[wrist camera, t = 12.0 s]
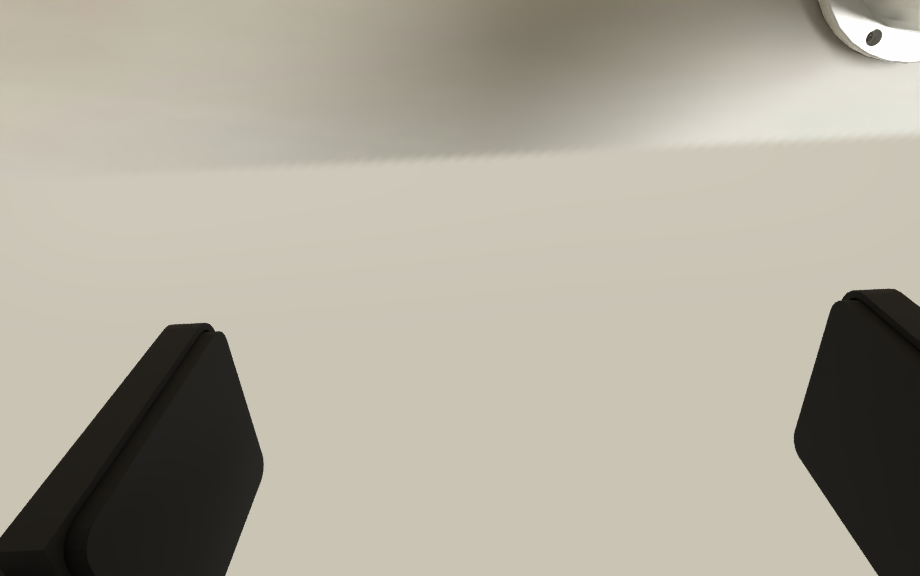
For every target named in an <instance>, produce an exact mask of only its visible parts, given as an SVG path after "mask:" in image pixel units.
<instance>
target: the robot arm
mask: <svg viewBox="0 0 920 576" xmlns="http://www.w3.org/2000/svg"><path fill="white" fill-rule="evenodd" d="M818 2H819V5H820V7H821V10H822V13H823V16H824V18H825V20H826V21H827V23H828V25H829V26H830V28H831V29H832V31H833V32H834V34H835V35H836V36H837V37H838V38H839V39H841V40H842V41H843V42H844V43H845V44H846V45H847V46H848V47H850V48H851V49H853V50H855V51H857V52H859V53H861V54H863V55H865V56H868V57H872V58H876V59H880V60H883V61H889V62H898V63H914V62H920V0H818ZM867 34H868V36H867ZM866 37H867V38H866ZM794 444H795V449H796V452H797V454H798V456H799V458H800V459H801V460H802V462H803V464H804V465H805V467H806V468H807V470H808V471H809V473H810V474H811V476H812V477H813V479H814V480H815V482H816V483H817V485H818V486H819V488H820V489H821V491H822V492H823V494H824V495H825V497H826V498H827V500H828V501H829V503H830V504H831V506H832V507H833V509H834V510H835V512H836V513H837V515H838V516H839V518H840V519H841V521H842V522H843V524H844V525H845V526H846V528H847V530H848V531H849V532H850V534H851V535H852V537H853V539H854V540H855V542H856V543H857V545H858V546H859V547H860V549H861V550H862V552H863V553H864V555H865V556H866V558H867V559H868V561H869V562H870V564H871V565H872V567H873V568H874V570H875V571H876V573H877V574H878V576H920V307H919V306H918V305H916V304H915V303H914V302H912V301H911V300H910V299H909V298H907V297H906V296H905V295H904V294H902V293H901V292H899V291H897V290H895V289H873V290H853V291H850V292H848V293H847V294H846V295H845V296H844V297H843V299H842V301H838V302H835V304H834V305H833V306H832V308H831V310H830V314H829V317H828V320H827V324H826V328H825V331H824V334H823V337H822V341H821V344H820V348H819V351H818V355H817V358H816V361H815V364H814V368H813V372H812V375H811V378H810V381H809V385H808V388H807V392H806V395H805V398H804V402H803V405H802V408H801V412H800V415H799V419H798V422H797V426H796V429H795V433H794ZM263 465H264V464H263V456H262V452H261V449H260V446H259V442H258V439H257V436H256V433H255V430H254V426H253V423H252V420H251V417H250V413H249V410H248V407H247V404H246V400H245V397H244V394H243V391H242V387H241V384H240V381H239V378H238V374H237V372H236V368H235V365H234V362H233V358H232V355H231V352H230V349H229V345H228V342H227V339H226V337H225V335H224V334H223V333H222V332H220V331H218V332H215V331H214V329H213V327H212V326H211V325H210V324H208V323H195V324H175V325H169V326H167V327H166V328H165V329H164V330H163V332H162V333H161V334H160V335H159V337H158V338H157V339H156V340H155V342H154V343H153V344H152V345H151V347H150V348H149V349H148V350H147V352H146V353H145V354H144V356H143V357H142V358H141V360H140V361H139V362H138V363H137V364H136V366H135V367H134V368H133V370H132V371H131V372H130V374H129V375H128V376H127V377H126V378H125V380H124V381H123V383H122V384H121V385H120V386H119V387H118V389H117V390H116V391H115V393H114V394H113V395H112V396H111V397H110V399H109V400H108V401H107V403H106V404H105V405H104V407H103V408H102V409H101V410H100V411H99V413H98V414H97V415H96V417H95V418H94V419H93V420H92V422H91V423H90V424H89V426H88V427H87V428H86V429H85V431H84V432H83V433H82V434H81V436H80V437H79V438H78V440H77V441H76V442H75V443H74V445H73V446H72V447H71V448H70V450H69V451H68V452H67V453H66V455H65V456H64V457H63V458H62V460H61V461H60V462H59V464H58V465H57V466H56V467H55V469H54V470H53V471H52V473H51V474H50V475H49V476H48V478H47V479H46V480H45V481H44V483H43V484H42V485H41V486H40V488H39V489H38V490H37V492H36V493H35V494H34V495H33V497H32V498H31V499H30V500H29V502H28V503H27V504H26V506H25V507H24V508H23V509H22V511H21V512H20V513H19V514H18V516H17V517H16V518H15V520H14V521H13V522H12V524H11V525H10V526H9V527H8V528H7V530H6V531H5V532H4V534H3V535H2V536H1V537H0V576H225V575H226V572H227V569H228V566H229V564H230V561H231V559H232V556H233V553H234V551H235V548H236V546H237V543H238V540H239V537H240V535H241V532H242V530H243V527H244V524H245V522H246V519H247V516H248V514H249V511H250V509H251V506H252V503H253V501H254V498H255V495H256V493H257V490H258V487H259V485H260V482H261V479H262V475H263Z"/></svg>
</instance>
